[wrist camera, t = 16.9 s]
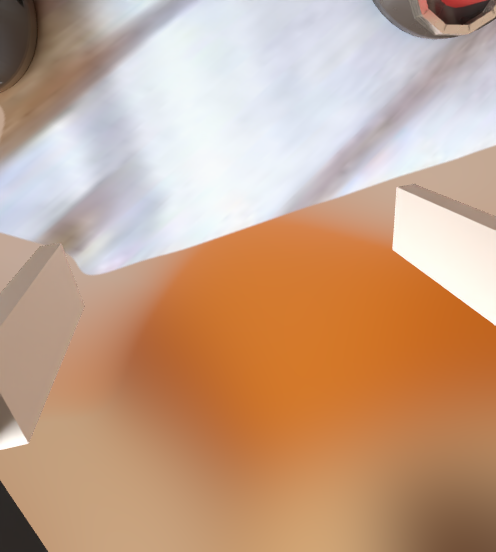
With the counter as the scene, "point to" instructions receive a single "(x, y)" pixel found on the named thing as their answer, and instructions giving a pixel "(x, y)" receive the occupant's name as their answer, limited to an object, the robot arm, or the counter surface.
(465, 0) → the beer can
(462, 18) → the carrier plate
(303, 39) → the counter surface
